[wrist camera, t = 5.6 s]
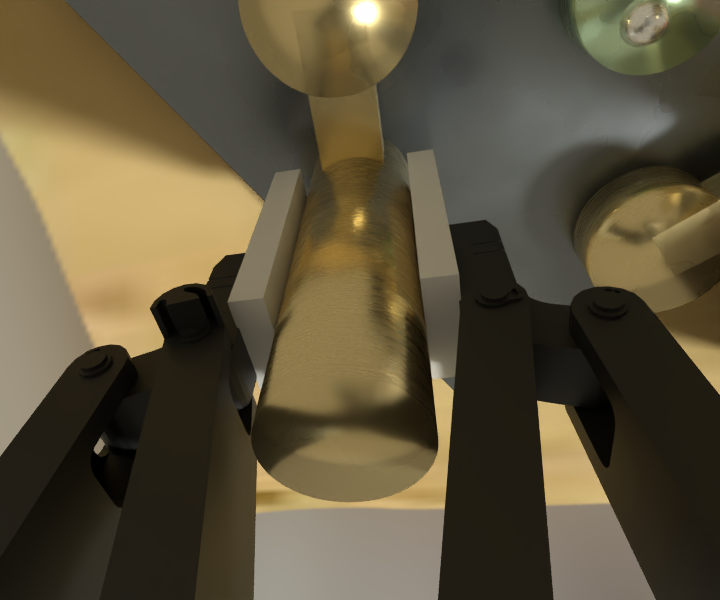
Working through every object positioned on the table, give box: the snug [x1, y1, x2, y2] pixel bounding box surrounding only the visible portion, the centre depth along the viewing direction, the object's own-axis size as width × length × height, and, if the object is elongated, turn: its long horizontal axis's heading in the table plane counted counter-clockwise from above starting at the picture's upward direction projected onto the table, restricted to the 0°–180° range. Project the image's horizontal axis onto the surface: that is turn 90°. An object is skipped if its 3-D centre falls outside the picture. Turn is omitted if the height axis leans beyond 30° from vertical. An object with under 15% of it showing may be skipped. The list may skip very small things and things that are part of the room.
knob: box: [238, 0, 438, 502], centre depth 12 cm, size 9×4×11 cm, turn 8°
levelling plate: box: [65, 0, 720, 390], centre depth 15 cm, size 20×21×3 cm
